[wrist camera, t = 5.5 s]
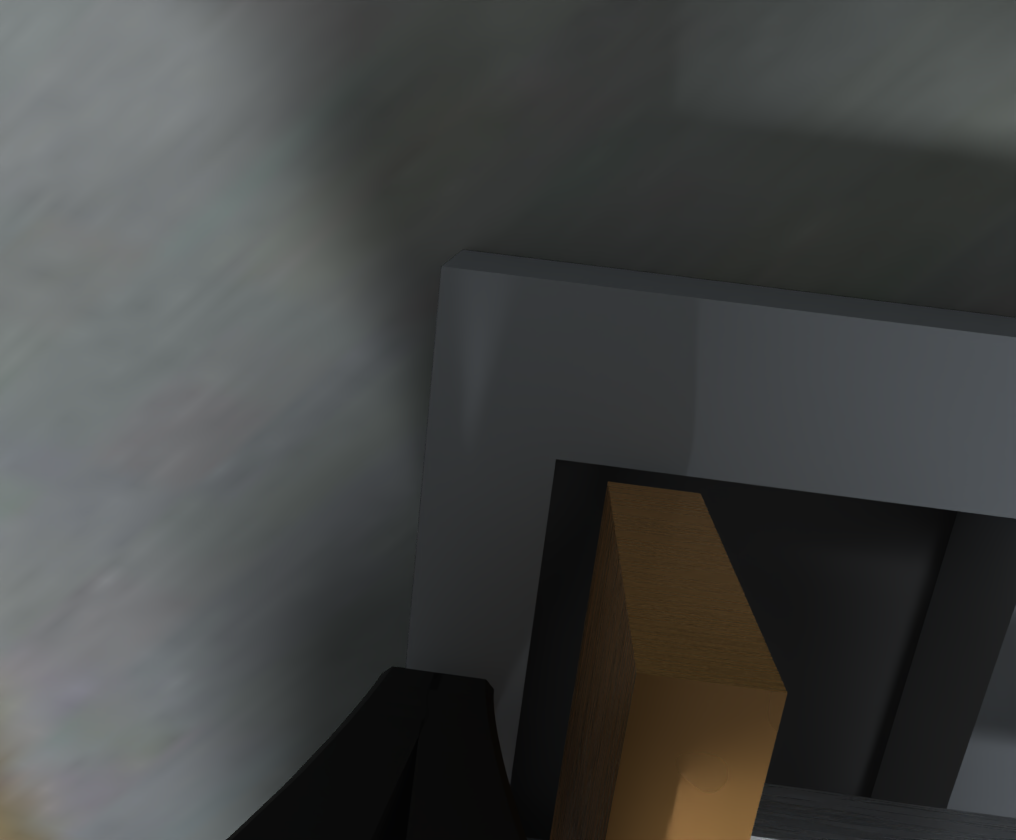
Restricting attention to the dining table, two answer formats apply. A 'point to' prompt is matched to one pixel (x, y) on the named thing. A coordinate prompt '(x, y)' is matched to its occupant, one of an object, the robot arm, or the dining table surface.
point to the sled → (695, 703)
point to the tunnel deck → (732, 509)
